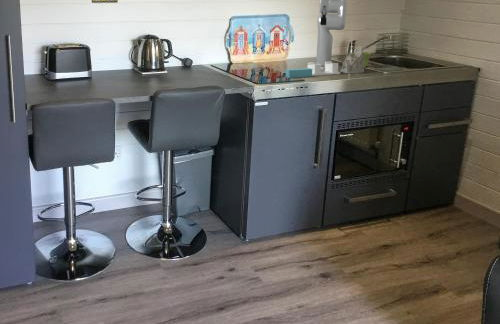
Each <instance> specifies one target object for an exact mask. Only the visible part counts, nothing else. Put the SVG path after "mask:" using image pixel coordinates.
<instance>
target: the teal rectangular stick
mask: <svg viewBox="0 0 500 324" xmlns="http://www.w3.org/2000/svg"><path fill="white" fill-rule="evenodd" d="M307 77H308V78H309V77H311V78H312V77H313V75H312V69H311V68H308V67H302V68H301V67H300V68H285V78H288V79H292V78H293V79H295V78H307Z"/></svg>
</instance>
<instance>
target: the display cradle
mask: <svg viewBox="0 0 500 324" xmlns="http://www.w3.org/2000/svg"><path fill="white" fill-rule="evenodd" d="M314 62H315V61H313V62H307V68H311V69H312V76H328V75H340V74H341V72H340V71H339V63H338V62H337V63H335V62H332V60H331V61H330V62H325V66H321V64H316V65H315V64H314ZM332 63H333V64H332Z"/></svg>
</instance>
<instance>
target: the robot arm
mask: <svg viewBox="0 0 500 324" xmlns="http://www.w3.org/2000/svg"><path fill="white" fill-rule="evenodd" d="M347 4H348V3H347V0H319V7H318V14H319V15H318V16H317V18H316V19H317V20H316V21H317V45H316V56H315V57H314V60H315V61H313V62H314V64H315V65H316V64H321V67H325V62H330V61H331V62H332V56H333V55H332V53H333V41H334V38H333V34H332V32H330V31H343V30H345V27H346V21H347V7H348V5H347ZM332 64H334V62H332Z"/></svg>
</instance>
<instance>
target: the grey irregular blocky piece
mask: <svg viewBox="0 0 500 324" xmlns="http://www.w3.org/2000/svg"><path fill="white" fill-rule="evenodd" d="M363 50H364V47H360V48H359V50H358V49H354V51H353V53H351V52H350V53H349V54H347V56H346V57H345V59H344V61H343V62H342V66H341V69H340V71H339V72H340V73H344V74H361V73H362V74H363V73H365V67H364V62H363V61H364V55H363V52H364V51H363Z"/></svg>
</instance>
